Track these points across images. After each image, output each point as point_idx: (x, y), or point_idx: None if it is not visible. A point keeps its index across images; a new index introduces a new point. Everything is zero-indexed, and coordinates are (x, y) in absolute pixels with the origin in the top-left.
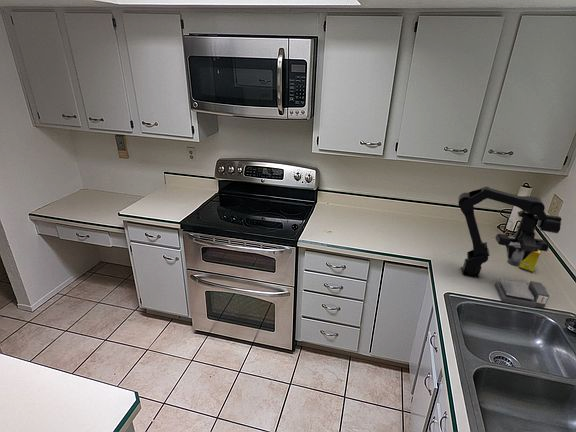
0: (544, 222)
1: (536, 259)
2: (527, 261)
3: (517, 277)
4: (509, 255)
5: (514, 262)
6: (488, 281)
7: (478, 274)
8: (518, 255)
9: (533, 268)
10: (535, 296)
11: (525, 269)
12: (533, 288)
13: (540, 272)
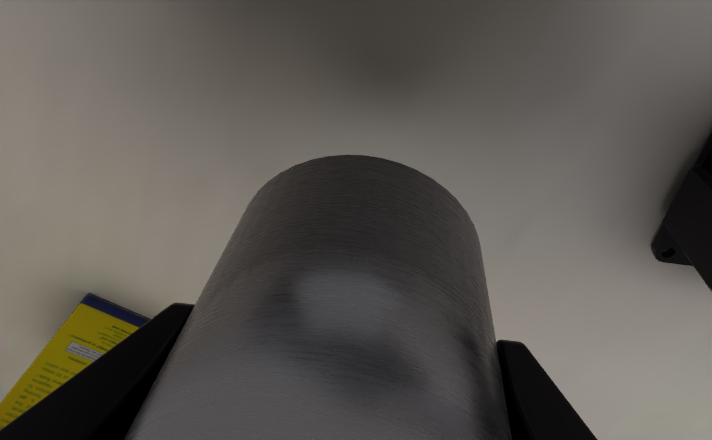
0: None
1: (2, 417)
2: None
3: (233, 205)
4: (563, 430)
5: (409, 218)
6: (625, 56)
7: (704, 164)
8: (350, 435)
9: (67, 327)
10: None
11: (138, 323)
12: None
13: (26, 307)
